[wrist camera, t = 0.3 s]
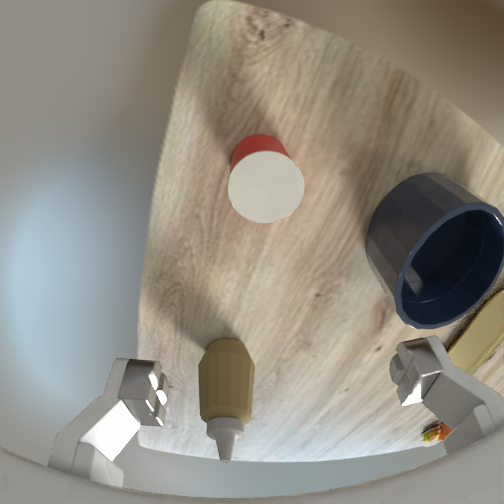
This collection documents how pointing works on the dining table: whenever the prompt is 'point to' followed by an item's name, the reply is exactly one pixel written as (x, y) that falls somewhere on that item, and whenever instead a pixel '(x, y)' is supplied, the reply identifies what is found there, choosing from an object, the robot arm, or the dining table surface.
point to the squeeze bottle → (226, 393)
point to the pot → (435, 249)
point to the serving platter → (480, 336)
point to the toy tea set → (436, 433)
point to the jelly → (264, 180)
